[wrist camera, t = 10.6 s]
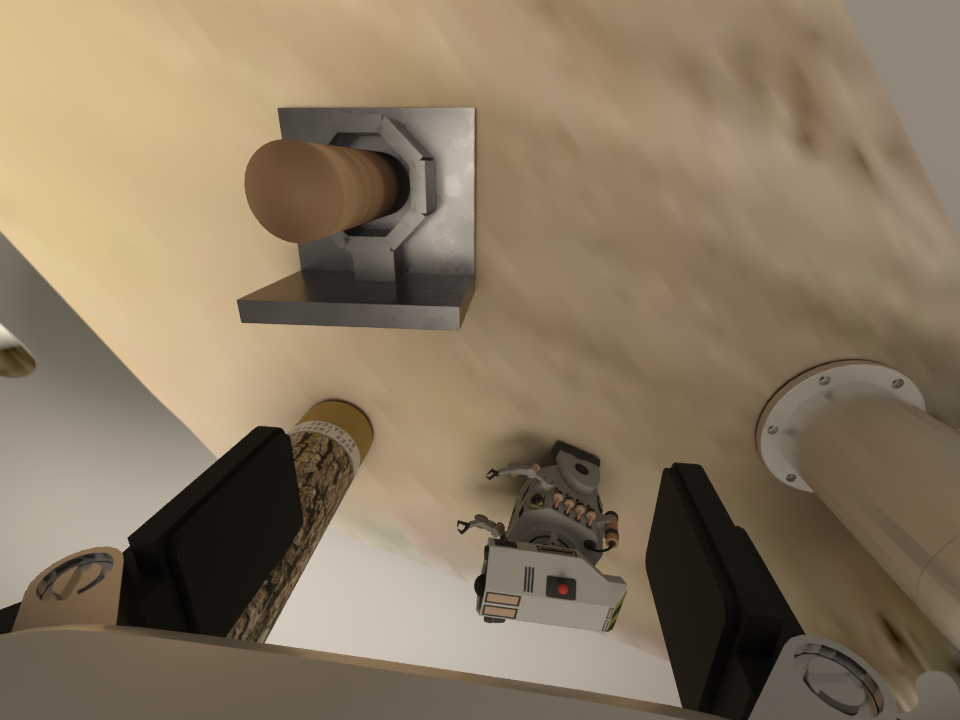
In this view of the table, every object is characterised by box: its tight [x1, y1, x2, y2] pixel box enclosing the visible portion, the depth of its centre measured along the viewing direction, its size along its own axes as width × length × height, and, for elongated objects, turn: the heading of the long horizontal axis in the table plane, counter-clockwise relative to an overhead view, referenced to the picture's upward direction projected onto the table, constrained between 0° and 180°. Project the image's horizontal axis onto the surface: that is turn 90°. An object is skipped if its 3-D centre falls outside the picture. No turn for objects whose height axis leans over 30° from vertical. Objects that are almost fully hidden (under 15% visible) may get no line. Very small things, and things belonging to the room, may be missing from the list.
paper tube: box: [226, 401, 372, 643], centre depth 32 cm, size 7×7×25 cm
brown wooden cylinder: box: [245, 140, 410, 243], centre depth 27 cm, size 4×4×14 cm
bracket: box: [237, 108, 476, 331], centre depth 30 cm, size 13×14×10 cm
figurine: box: [457, 442, 627, 632], centre depth 36 cm, size 9×12×15 cm
